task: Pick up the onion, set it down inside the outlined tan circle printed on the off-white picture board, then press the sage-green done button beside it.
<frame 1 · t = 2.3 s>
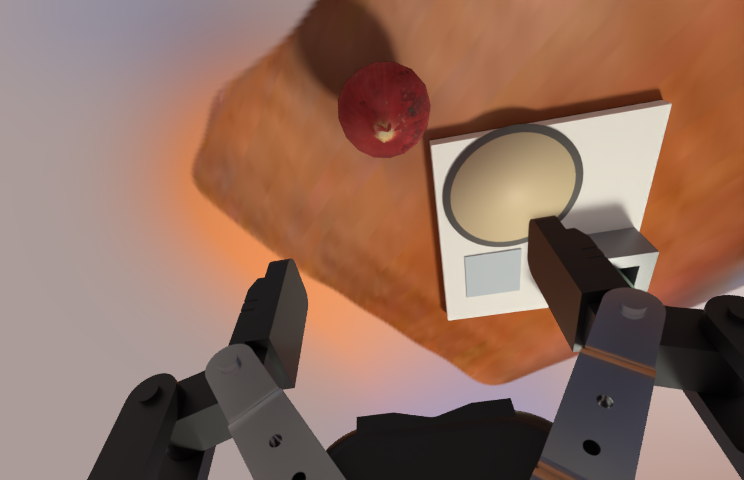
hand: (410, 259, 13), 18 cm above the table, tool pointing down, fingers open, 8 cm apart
onion: (382, 94, 28), on the table
picture board: (535, 225, 35), on the table
done button housing: (581, 257, 37), resting on picture board
done button: (606, 291, 33), point 5 cm above the table, slide at 0.0 cm
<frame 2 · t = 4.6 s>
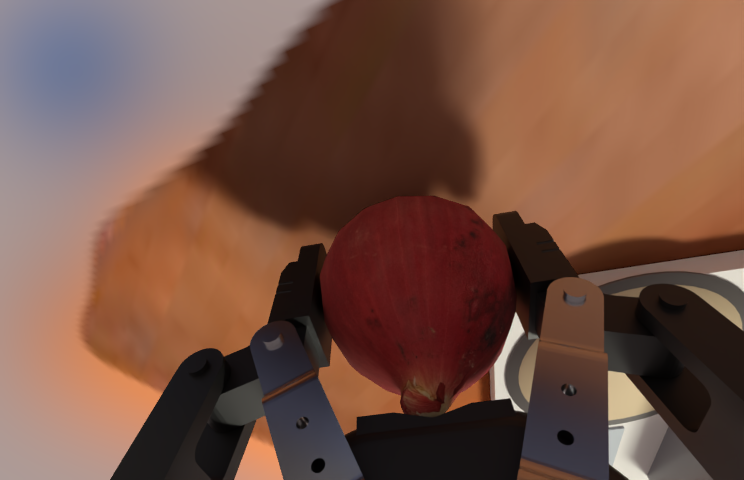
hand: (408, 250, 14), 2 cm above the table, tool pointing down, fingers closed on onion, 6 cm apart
onion: (405, 221, 15), on the table, touching gripper
picture board: (646, 391, 22), on the table
done button housing: (709, 425, 24), resting on picture board
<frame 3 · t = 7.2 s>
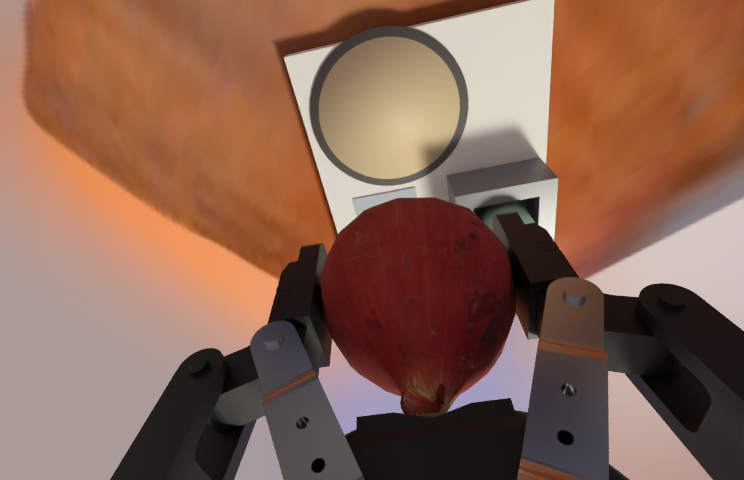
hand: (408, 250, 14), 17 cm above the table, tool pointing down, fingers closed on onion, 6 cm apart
onion: (405, 222, 15), point 16 cm above the table, touching gripper
picture board: (430, 160, 31), on the table
done button housing: (490, 199, 33), resting on picture board
done button: (506, 229, 29), point 5 cm above the table, slide at 0.0 cm
when the fingers open (4 cm above the table, at t = 10.3 s): onion drops 1 cm, resting on picture board.
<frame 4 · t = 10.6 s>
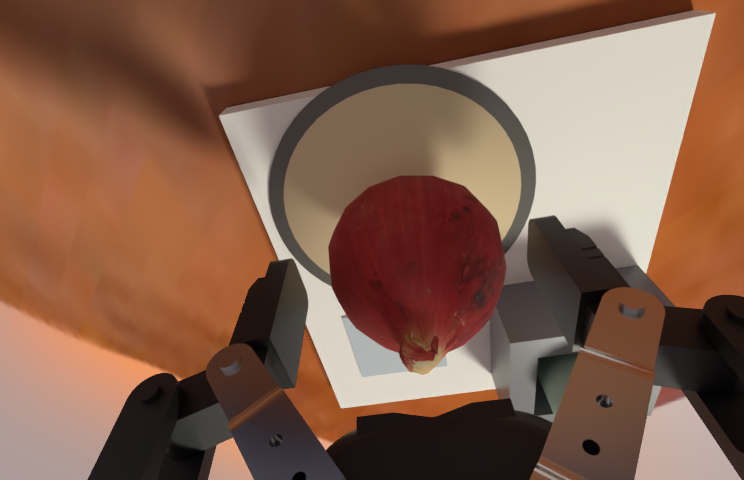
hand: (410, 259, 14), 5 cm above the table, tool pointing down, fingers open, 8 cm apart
onion: (406, 202, 17), point 1 cm above the table, touching picture board
picture board: (462, 262, 20), on the table
done button housing: (549, 312, 22), resting on picture board
done button: (587, 384, 18), point 5 cm above the table, slide at 0.0 cm
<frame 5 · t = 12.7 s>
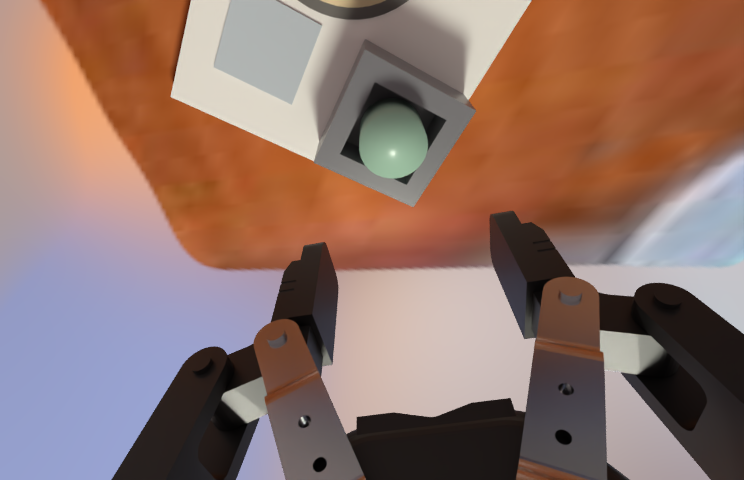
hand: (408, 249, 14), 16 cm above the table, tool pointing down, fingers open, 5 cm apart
picture board: (357, 10, 23), on the table
done button housing: (388, 113, 27), resting on picture board
done button: (392, 138, 23), point 5 cm above the table, slide at 0.0 cm
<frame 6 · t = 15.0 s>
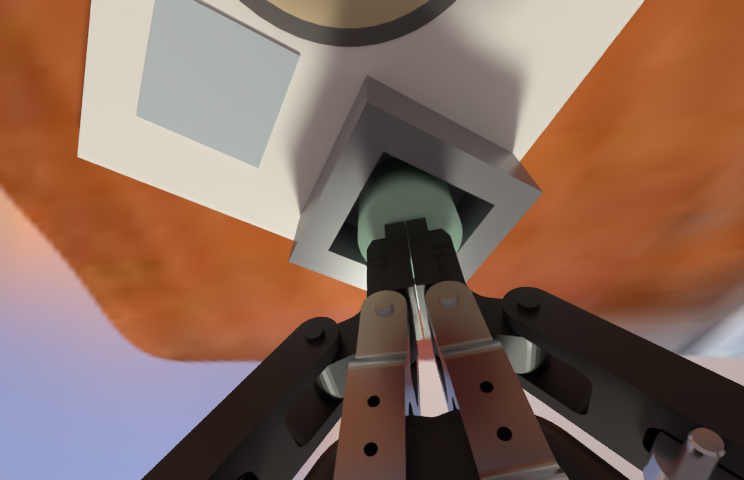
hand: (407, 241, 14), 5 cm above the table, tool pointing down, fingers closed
picture board: (355, 31, 15), on the table
done button housing: (400, 175, 19), resting on picture board
done button: (406, 218, 15), point 4 cm above the table, slide at 0.9 cm, touching gripper
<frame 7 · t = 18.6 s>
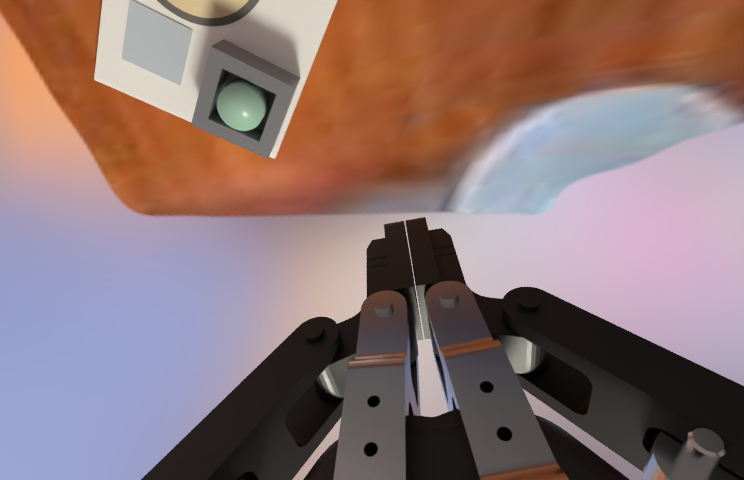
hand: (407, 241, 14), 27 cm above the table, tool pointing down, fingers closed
picture board: (218, 20, 34), on the table
done button housing: (253, 92, 37), resting on picture board
done button: (244, 104, 34), point 4 cm above the table, slide at 0.9 cm
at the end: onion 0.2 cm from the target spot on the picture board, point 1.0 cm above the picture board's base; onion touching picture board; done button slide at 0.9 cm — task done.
